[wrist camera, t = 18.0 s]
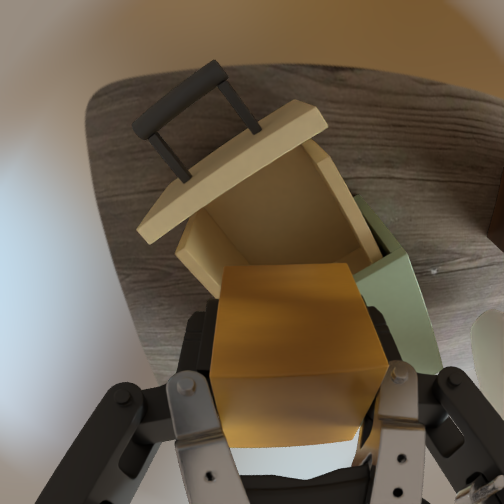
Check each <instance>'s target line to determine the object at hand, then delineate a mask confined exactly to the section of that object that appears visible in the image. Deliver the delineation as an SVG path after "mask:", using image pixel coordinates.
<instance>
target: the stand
mask: <svg viewBox="0 0 504 504" xmlns="http://www.w3.org/2000/svg"><path fill="white" fill-rule="evenodd" d="M487 238H489V239H490V240H491V241H492V242H493V243H494V244H495V245H496V246H497V247H498V248H499V249H500V250H501V251H502V252H503V253H504V167H503V172H502V177H501V182H500V187H499V192H498V196H497V200H496V204H495V208H494V212H493V216H492V220H491V224H490V227H489V231H488V234H487Z"/></svg>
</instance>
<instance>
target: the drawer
mask: <svg viewBox="0 0 504 504" xmlns="http://www.w3.org/2000/svg"><path fill="white" fill-rule="evenodd" d="M228 78H229V77H228V75H227V74H226V72H225V71H224V70H223V68H222V67H221V66H220V65H219V63H218V62H217V61H216V60H212V61H211V62H210V63H208V64H207V65H205V66H204V67H202V68H201V69H199V70H198V71H197V72H195V73H194V74H193V75H191V76H190V77H188V78H187V79H186V80H184V81H183V82H182V83H181V84H179V85H178V86H177V87H175V88H174V89H173V90H171V91H170V92H169V93H168V94H166V95H165V96H164V97H163V98H161V99H160V100H159V101H158V102H157V103H155V104H154V105H153V106H152V107H151V108H149V109H148V110H147V111H146V112H145V113H143V114H142V115H141V116H140V117H139V118H138V119H137V120H135V121H134V122H133V123H132V128H133V130H134V132H135V133H136V134H137V136H138V137H140V138H141V139H143V140H149V142H150V143H151V144H152V145H153V147H154V148H155V149H156V150H157V152H158V153H159V154H160V155H161V157H162V158H163V159H164V160H165V162H166V163H167V164H168V165H169V167H170V168H171V169H172V170H173V172H174V173H175V174H176V175H177V177H178V178H177V179H175V180H174V181H173V182H171V183H170V184H169V185H168V186H167V188H166V189H165V190H164V192H163V193H162V194H161V196H160V197H159V198H158V200H157V201H156V202H155V204H154V205H153V207H152V208H151V209H150V211H149V212H148V213H147V215H146V216H145V218H144V219H143V221H142V222H141V223H140V225H139V226H138V228H137V229H136V230H137V232H138V233H139V234H140V235H141V236H142V237H143V238H144V239H145V240H146V242H147V243H148V244H149V245H150V244H152V243H153V242H155V241H156V240H157V239H159V238H160V237H161V236H163V235H164V234H166V233H167V232H168V231H170V230H171V229H172V228H174V227H175V226H177V225H178V224H180V223H181V222H182V221H184V220H185V219H187V218H188V217H189V216H190V218H189V220H188V222H187V225H186V227H185V229H184V232H183V234H182V237H181V239H180V242H179V244H178V246H177V249H176V251H175V255H176V256H177V257H178V259H179V260H180V261H181V262H182V263H183V264H184V265H185V266H186V267H187V268H188V269H189V271H190V272H191V273H192V274H193V275H194V276H195V277H196V278H197V279H198V280H199V281H200V282H201V283H202V284H203V286H204V287H205V288H206V289H207V290H208V291H209V292H210V293H211V294H212V295H213V296H214V297H215V298H216V299H219V296H220V289H221V282H222V275H223V268H224V266H245V265H290V264H328V263H347V265H348V267H349V269H350V271H351V274H352V275H354V274H356V273H358V272H359V271H361V270H363V269H365V268H366V267H368V266H370V265H372V264H373V263H375V262H377V261H379V260H380V259H382V258H383V256H382V254H381V252H380V250H379V248H378V246H377V244H376V241H375V239H374V237H373V235H372V233H371V231H370V229H369V227H368V225H367V223H366V221H365V219H364V217H363V215H362V213H361V212H360V210H359V208H358V206H357V204H356V202H355V200H354V198H353V196H352V195H351V193H350V191H349V189H348V187H347V185H346V184H345V182H344V180H343V178H342V177H341V175H340V173H339V171H338V169H337V168H336V166H335V164H334V163H333V161H332V159H331V157H330V156H329V155H328V154H327V153H326V152H325V151H324V150H323V149H322V148H321V147H320V146H319V145H318V144H317V143H316V142H315V141H314V140H312V139H311V137H313V136H315V135H316V134H318V133H320V132H321V131H323V130H325V129H326V128H328V125H327V123H326V121H325V120H324V118H323V117H322V115H321V113H320V112H319V110H318V109H317V107H315V106H313V105H310V104H307V103H304V102H301V101H298V100H295V99H294V100H292V101H290V102H289V103H287V104H285V105H284V106H282V107H280V108H279V109H277V110H276V111H274V112H272V113H271V114H269V115H268V116H266V117H264V118H263V119H261V120H260V121H258V122H257V120H256V119H255V118H254V116H253V115H252V113H251V112H250V111H249V109H248V108H247V107H246V105H245V104H244V102H243V101H242V100H241V98H240V97H239V96H238V94H237V93H236V92H235V90H234V89H233V88H232V86H231V85H230V84H229V82H228V81H226V80H227V79H228ZM217 86H218V88H219V89H220V91H221V92H222V93H223V95H224V96H225V97H226V99H227V100H228V101H229V103H230V104H231V105H232V107H233V108H234V109H235V111H236V112H237V113H238V115H239V116H240V117H241V119H242V120H243V122H244V123H245V124H246V126H247V127H248V128H247V129H246V130H244V131H243V132H241V133H240V134H238V135H237V136H235V137H234V138H232V139H231V140H229V141H228V142H227V143H225V144H224V145H222V146H221V147H219V148H218V149H216V150H215V151H214V152H212V153H211V154H209V155H208V156H207V157H205V158H204V159H202V160H201V161H200V162H198V163H197V164H196V165H194V166H193V167H191V168H190V169H189V170H187V168H186V167H185V166H184V165H183V163H182V162H181V161H180V160H179V158H178V157H177V156H176V155H175V153H174V152H173V151H172V149H171V148H170V147H169V146H168V144H167V143H166V142H165V141H164V139H163V138H162V137H161V136H160V134H159V133H158V132H157V131H159V130H160V129H161V128H162V127H163V126H165V125H166V124H167V123H168V122H170V121H171V120H172V119H173V118H175V117H176V116H177V115H179V114H180V113H181V112H182V111H184V110H185V109H186V108H188V107H189V106H190V105H192V104H193V103H194V102H196V101H197V100H199V99H200V98H201V97H203V96H204V95H205V94H207V93H208V92H210V91H211V90H213V89H214V88H215V87H217Z"/></svg>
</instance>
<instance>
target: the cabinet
mask: <svg viewBox="0 0 504 504" xmlns="http://www.w3.org/2000/svg"><path fill="white" fill-rule="evenodd" d="M353 198H354V200H355V202H356V204H357V206H358V208H359V210H360V212H361V213H362V215H363V217H364V219H365V221H366V223H367V225H368V227H369V229H370V231H371V233H372V235H373V237H374V239H375V241H376V244H377V246H378V248H379V250H380V252H381V254H382V256H383V258H382V259H380V260H379V261H377V262H375V263H373V264H372V265H370V266H368V267H366V268H365V269H363V270H361V271H359V272H358V273H356V274H354V275H352V276H353V278H354V280H355V283H356V285H357V287H358V290H359V292H360V294H361V295H362V296H363V297H364V300H365V302H366V304H367V306H374V307H376V308H377V309H378V310H379V311H380V312H381V313H382V314H383V316H384V319H385V321H386V323H387V325H388V328H389V330H390V333H391V334H392V337H393V339H394V341H395V344H396V346H397V348H398V351H399V353H400V355H401V358H402V360H403V361H405V362H407V363H409V364H410V365H412V366H413V367H414V369H415V370H416V372H418V373H422V374H430V375H435V374H436V373H438V372H440V371H441V370H442V369H443V365H442V361H441V357H440V353H439V349H438V346H437V342H436V338H435V335H434V331H433V328H432V325H431V321H430V318H429V315H428V312H427V309H426V305H425V302H424V299H423V296H422V293H421V290H420V288H419V285H418V282H417V279H416V276H415V274H414V271H413V268H412V265H411V263H410V260H409V258H408V255H407V253H406V252H405V250H404V249H403V248H402V246H401V245H400V244H399V242H398V241H397V240H396V239H395V237H394V236H393V235H392V233H391V232H390V231H389V230H388V228H387V227H386V226H385V225H384V223H383V222H382V221H381V220H380V219H379V217H378V216H377V215H376V214H375V212H374V211H373V210H372V209H371V208H370V206H369V205H368V204H367V203H366V202H365V201H364V199H363V198H362V197H361V196H360V195H359V194H358V195H356V196H354V197H353Z"/></svg>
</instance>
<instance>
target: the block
mask: <svg viewBox="0 0 504 504" xmlns="http://www.w3.org/2000/svg"><path fill="white" fill-rule="evenodd" d="M388 367H389V364H388V361H387V359H386V356H385V353H384V351H383V348H382V346H381V343H380V340H379V338H378V335H377V333H376V330H375V328H374V325H373V323H372V320H371V318H370V316H369V313H368V311H367V308H366V306H365V304H364V301H363V299H362V297H361V294H360V292H359V290H358V287H357V285H356V283H355V280H354V278H353V276H352V274H351V271H350V269H349V267H348V265H347V263H328V264H290V265H245V266H224V268H223V275H222V282H221V289H220V296H219V304H218V311H217V319H216V326H215V334H214V342H213V350H212V358H211V366H210V374H209V377H210V381H211V386H212V390H213V395H214V399H215V404H216V408H217V412H218V417H219V421H220V424H221V427H222V430H223V431H224V434H225V436H226V439H227V442H228V445H229V448H267V447H268V448H269V447H290V446H305V445H316V444H325V443H334V442H342V441H349V440H352V439H353V437H354V436H355V434H356V432H357V430H358V428H359V427H360V425H361V423H362V421H363V419H364V417H365V415H366V413H367V412H368V410H369V408H370V406H371V404H372V402H373V400H374V398H375V396H376V393H377V391H378V389H379V387H380V385H381V383H382V381H383V379H384V376H385V374H386V372H387V370H388Z"/></svg>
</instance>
